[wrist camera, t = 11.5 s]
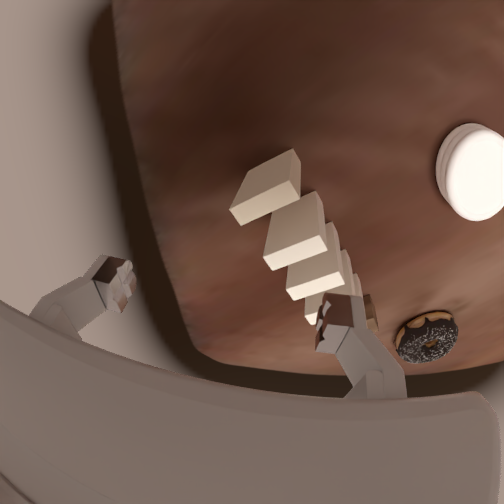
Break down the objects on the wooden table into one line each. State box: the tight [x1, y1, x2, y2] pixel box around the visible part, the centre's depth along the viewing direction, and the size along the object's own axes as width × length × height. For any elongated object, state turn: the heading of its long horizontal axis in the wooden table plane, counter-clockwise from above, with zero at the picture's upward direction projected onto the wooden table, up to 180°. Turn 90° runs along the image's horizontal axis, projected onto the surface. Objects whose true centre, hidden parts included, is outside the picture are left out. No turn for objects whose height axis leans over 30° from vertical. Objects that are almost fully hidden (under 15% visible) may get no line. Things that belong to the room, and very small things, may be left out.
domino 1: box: [229, 148, 301, 226], centre depth 23 cm, size 2×5×8 cm, turn 122°
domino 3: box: [286, 222, 345, 300], centre depth 27 cm, size 2×5×8 cm, turn 122°
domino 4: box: [305, 249, 356, 325], centre depth 28 cm, size 2×5×8 cm, turn 122°
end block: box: [363, 295, 379, 332], centre depth 34 cm, size 3×6×4 cm, turn 122°
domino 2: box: [263, 191, 328, 271], centre depth 25 cm, size 2×5×8 cm, turn 122°
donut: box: [396, 312, 458, 363], centre depth 35 cm, size 11×12×4 cm
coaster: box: [436, 123, 504, 221], centre depth 20 cm, size 10×10×4 cm
